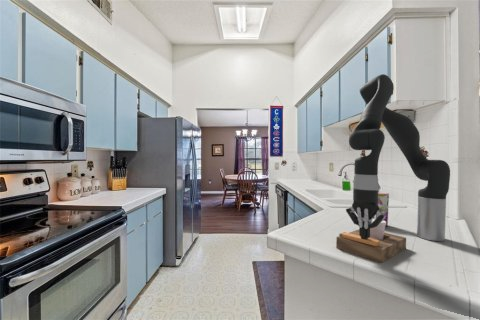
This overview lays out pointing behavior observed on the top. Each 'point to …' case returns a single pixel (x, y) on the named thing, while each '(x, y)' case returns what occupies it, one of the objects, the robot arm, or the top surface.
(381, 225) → the smoothie
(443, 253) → the top surface
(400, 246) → the socket block
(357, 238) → the bar
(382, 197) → the candy bar box
